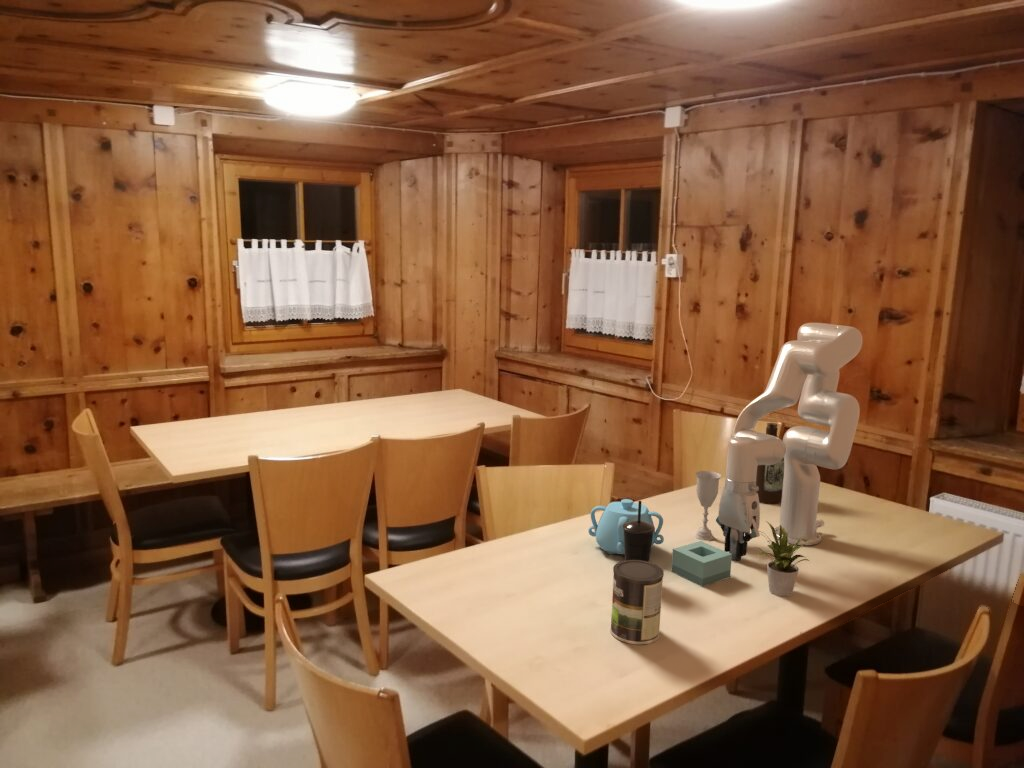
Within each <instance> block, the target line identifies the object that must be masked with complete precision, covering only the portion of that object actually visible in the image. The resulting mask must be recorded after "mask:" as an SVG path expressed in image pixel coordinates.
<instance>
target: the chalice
mask: <svg viewBox="0 0 1024 768" xmlns="http://www.w3.org/2000/svg"><path fill="white" fill-rule="evenodd" d="M695 475H696V489H695V490H696V495H697V499H698V501H699V503H700V505H701V507H703V512H702V515H703V518H702V519H701V520H702V526H701V527H699V528H698V529H697V530H696V532H695V534H694V538H696V539H698V540H700V541H711V540H714V536H713V533H712V529H710V527H708V525H707V524H708V522H709V519H708V516H709V513H708V512H709V510H708V509H709V508H711V507H712V505H713V504H714V502H715V500H716V498H717V496H718V493H719V482H720V479H721V477H722V474H720V473H718V472H715V471H712V470H711V471H710V470H700V471H697V472H695Z"/></svg>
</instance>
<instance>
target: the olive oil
mask: <svg viewBox="0 0 1024 768" xmlns="http://www.w3.org/2000/svg"><path fill="white" fill-rule="evenodd" d="M778 429H779V428H778V423H776V422H767V423H766V428H765V434H768V435H772V436H775V437H778ZM778 438H779V437H778ZM783 479H784V458H783V459H782V460H781V461H780V462H778V463H776V464H773V465H758V466H757V477H756V486H758V487H759V490H758V491H757V492H756V491H755V492H756V493H758V497H759V504H760V503H761V504H764V505H765V504H767V505H768V504H769V505H775V504H781V501H782V490H783Z"/></svg>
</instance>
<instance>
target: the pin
mask: <svg viewBox="0 0 1024 768" xmlns="http://www.w3.org/2000/svg"><path fill="white" fill-rule="evenodd" d="M737 542H740V541H739V530H736V529H734V528H731V530H730V544H729V552H728V553H730V554H732V559H731V562H741V561H742V557H737V556H736V552H737Z"/></svg>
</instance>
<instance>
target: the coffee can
mask: <svg viewBox="0 0 1024 768" xmlns="http://www.w3.org/2000/svg"><path fill="white" fill-rule="evenodd" d="M612 570H613V579H612V580H613V581H612V582H613V583H612V600H611V601H612V602H611V616H610V617H611V622H610V634H611V635H612V637H614V638H615V639H616V640H618V641H620V642H623V643H626V644H629V645H637V646H639V645H643V646H644V645H649V644H650V645H651V644H653V643H654V642H656V641H657V640H658V639H659V638H660V625H661V611H662V610H661V608H662V596H663V595H662V594H663V579H664V576H665V575H664V573H665V572H664V569H663V568H662V567H661V566H659V565H658V564H655V563H653V562H650V561H649V562H647V561H642V560H625V559H624V560H622V561H619V562H616V563H615V564H614V565H613V567H612Z"/></svg>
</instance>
